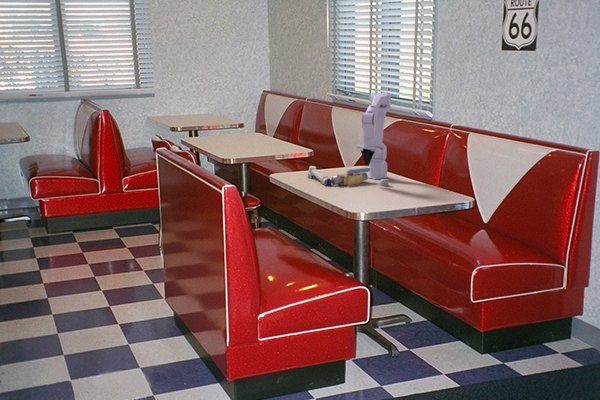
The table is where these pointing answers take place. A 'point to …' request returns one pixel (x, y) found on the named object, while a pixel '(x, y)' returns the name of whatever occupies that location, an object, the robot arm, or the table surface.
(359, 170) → the lever
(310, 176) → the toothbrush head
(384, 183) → the pvc end cap
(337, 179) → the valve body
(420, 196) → the table surface
